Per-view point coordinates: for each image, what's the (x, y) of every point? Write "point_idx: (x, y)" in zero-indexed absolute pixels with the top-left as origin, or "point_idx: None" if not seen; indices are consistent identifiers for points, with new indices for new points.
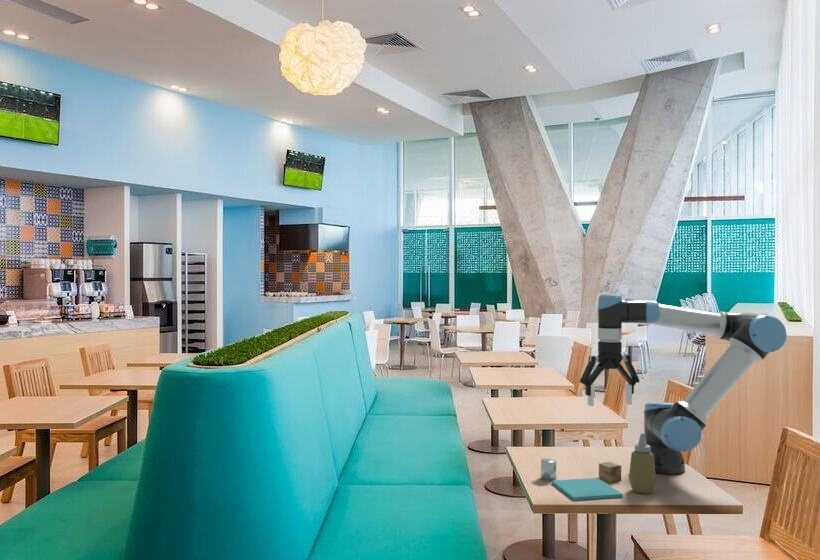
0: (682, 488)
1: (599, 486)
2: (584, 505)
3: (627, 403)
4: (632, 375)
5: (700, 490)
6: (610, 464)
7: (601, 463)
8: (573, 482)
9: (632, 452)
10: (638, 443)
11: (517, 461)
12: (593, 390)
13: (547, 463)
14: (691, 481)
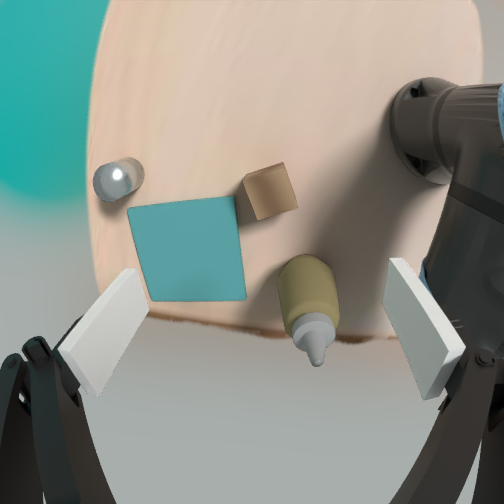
0: None
1: (215, 255)
2: (167, 317)
3: (386, 282)
4: (491, 438)
5: None
6: (271, 196)
7: (248, 184)
8: (167, 225)
9: (288, 315)
10: (304, 338)
11: (99, 50)
12: (110, 375)
13: (104, 200)
14: (435, 229)
